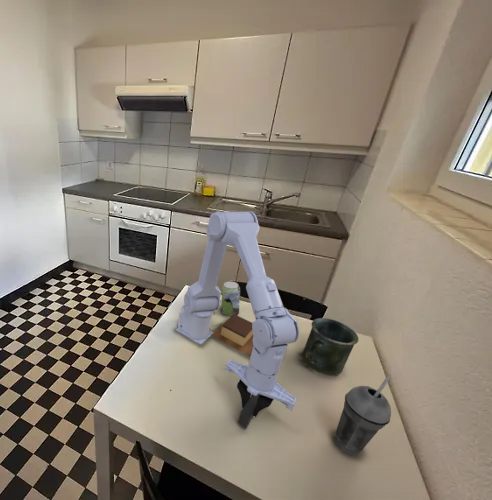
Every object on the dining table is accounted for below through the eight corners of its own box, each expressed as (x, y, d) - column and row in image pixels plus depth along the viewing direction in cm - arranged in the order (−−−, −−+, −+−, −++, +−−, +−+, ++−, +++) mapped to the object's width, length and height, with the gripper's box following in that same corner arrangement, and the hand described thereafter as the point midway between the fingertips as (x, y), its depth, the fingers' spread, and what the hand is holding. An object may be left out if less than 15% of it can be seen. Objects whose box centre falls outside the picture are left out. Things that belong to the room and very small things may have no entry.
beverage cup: (319, 428, 63) (350, 361, 55) (349, 426, 63) (384, 360, 55) (343, 464, 56) (383, 393, 48) (376, 462, 57) (421, 392, 49)
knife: (237, 422, 62) (240, 412, 60) (267, 375, 74) (270, 365, 73) (246, 429, 60) (249, 418, 59) (274, 379, 73) (278, 369, 71)
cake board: (210, 336, 89) (210, 335, 88) (227, 320, 97) (228, 318, 97) (267, 368, 78) (267, 366, 78) (281, 347, 86) (281, 345, 86)
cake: (220, 334, 89) (222, 324, 87) (231, 323, 94) (233, 313, 93) (242, 346, 84) (245, 336, 83) (253, 334, 90) (255, 324, 88)
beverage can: (239, 320, 98) (246, 290, 93) (217, 316, 99) (223, 287, 94) (237, 309, 103) (243, 281, 98) (217, 306, 104) (222, 278, 100)
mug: (351, 370, 79) (367, 337, 74) (320, 388, 73) (335, 353, 68) (314, 345, 88) (327, 314, 83) (284, 359, 81) (295, 326, 76)
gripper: (223, 355, 59) (213, 400, 65) (295, 398, 51) (277, 445, 56) (237, 340, 64) (227, 382, 70) (306, 376, 56) (287, 421, 61)
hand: (250, 409), depth 63 cm, fingers closed on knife, 2 cm apart
